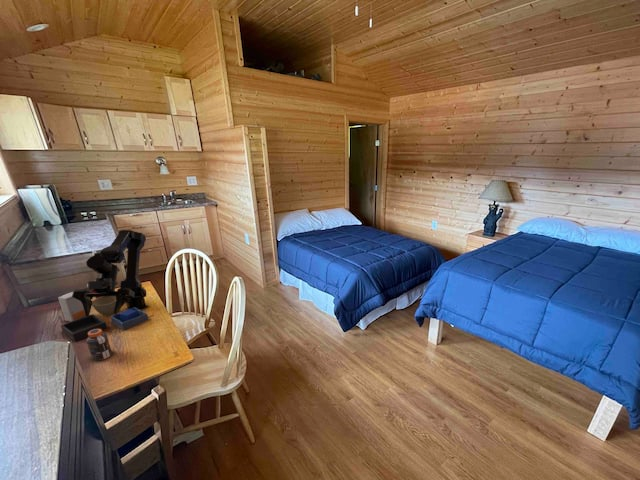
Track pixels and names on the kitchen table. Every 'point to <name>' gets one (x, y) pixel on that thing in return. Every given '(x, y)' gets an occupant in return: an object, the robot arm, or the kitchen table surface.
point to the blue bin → (130, 323)
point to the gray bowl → (105, 305)
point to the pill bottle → (98, 344)
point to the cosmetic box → (71, 307)
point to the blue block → (128, 315)
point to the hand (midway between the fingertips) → (101, 315)
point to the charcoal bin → (83, 327)
